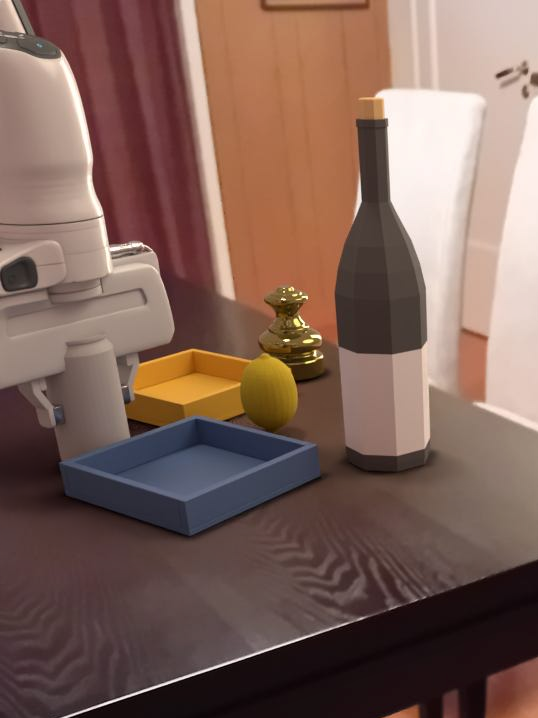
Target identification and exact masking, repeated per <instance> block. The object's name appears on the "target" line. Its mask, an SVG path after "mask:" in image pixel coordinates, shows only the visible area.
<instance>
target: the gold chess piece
mask: <svg viewBox="0 0 538 718" xmlns="http://www.w3.org/2000/svg"><path fill="white" fill-rule="evenodd" d="M308 300H309V297H308V294H307V293H305V292H304V291H302V290H300V289H297V288H294V286H292V285H288V284H287V285H286V284H284V285H278V286H277V287H276V288H275V289H273V290H271V291H269V292H268V293H266V294H265V295H264V296H263V301H264V303H265V304H266V305H268V306H269V307H270V308H272V310H273V312H274V313H275V317H274V320H272V323H270V324H269V325H268V327H267V328H268V329H266V330H264V331H263V332H261V334H259V336H258V337H257V345H258V348H259V349H260V351H262V352H263V353H262V354H268V355H269V356H270V357H273V358H276V359H278V360H280V361H281V362H283V363H284V364H285V365H286V366H287V367H288V368H291V373H292V375H293V378H294V381H295V382H302V381H308V380H309V381H310V380H312V379H316V378H317V377H320V376H321V375H322V374H323V373H324V371H325V367H324V366H325V365H324V353H323V352H322V351H320V350H319V349H321V347H322V344H323V337H322V335H321V333H320V332H319V331H317V330H316V329H314V328H312V327H310V324H309V323H307V322H306V321H304V319H303V318H302V317H301V315H300V311H301V309H302V307H303V306H304V305H305V304H306V303H307V302H308Z"/></svg>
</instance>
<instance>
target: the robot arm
mask: <svg viewBox="0 0 538 718" xmlns="http://www.w3.org/2000/svg"><path fill="white" fill-rule="evenodd" d="M89 132H90V131H89V127H88V123H87V118H86V113H85V109H84V106H83V101H82V98H81V93H80V90H79V87H78V83H77V80H76V78H75V75H74V72H73V70H72V68H71V65H70V62H69V61H68V60H67V58H66V56H65V54H64V52H63V51H62V49H60V47H59V46H57V45H56V44H54V43H52V42H51V41H50V40H48V39H45V38H43V37H41V36H37V35H36V34H35V31H34V28H33V27H32V24H31V22H30V20H29V18H28V15H27V14H26V10H25V8H24V7H23V4H22V2H21V0H0V391H1V390H5V389H8V388H12V387H15V386H17V389H18V391H19V393H20V394H22V396H24V397H25V399H26V400H27V401H28V402H29V403H30V404H31V406H32V407H34V408H35V412H36V417H37V420H38V423H39V425H40V426H41V427H42V428H46V429H54V427H56V426H59V425H62V424H64V423H65V418H64V417H63V409H62V405H58V404H54V403H50V402H49V400H48V398H47V396H45V394H44V393H43V392H45V391H46V389H47V386H46V382H45V377H49V376H52V375H56V374H59V373H63V372H64V371H65V360H64V356H65V354H66V351H67V349H68V346H67V345H66V342H70V341H73V340H77V339H81V338H85V337H89V336H93V335H97V334H103V333H105V332H106V333H107V336H106V338H107V339H108V340H109V341H110V342H111V343H112V344H113V346H114V351H115V357H116V362H117V368H118V373H119V379H120V384H121V390H122V395H123V400H124V405H125V404H129V403H132V402H134V401H135V396H134V390H133V385H132V384H133V383H134V380H135V377H136V373H137V370H138V367H139V364H141V363H140V358H139V352H143V351H147V350H150V349H153V348H158V347H160V346H164V345H167V344H170V343H171V341H172V340H173V337H174V333H175V322H174V318H173V313H172V310H171V309H172V308H171V305H170V302H169V298H168V293H167V291H166V287H165V285H164V282H163V279H162V277H161V271H160V265H159V258H158V256H157V254H156V252H155V251H154V250H153V249H152V248H150V246H148V245H146V244H144V243H143V242H142V241H140V240H130V241H127V242H125V243H113V244H110V243H109V238H108V232H107V226H106V220H105V215H104V210H103V207H102V205H101V202H100V200H99V198H98V195H97V193H96V190H95V186H94V182H93V167H94V154H93V153H94V152H93V148H92V144H91V137H90V133H89Z"/></svg>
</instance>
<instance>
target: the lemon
mask: <svg viewBox="0 0 538 718" xmlns="http://www.w3.org/2000/svg"><path fill="white" fill-rule="evenodd" d="M240 397H241V402H242V406H243V409H244V411H245V413H244V414H245V415H246V416H247V418H248V419H249V420H250V422H252V424H254V425H255V426H257V427H258V428H262V429H265V431H266V432H269V433H273V434H277V433H278V431H279V430H280V429H281V428H282V427H284V426H286V425H288V424H289V423H290V422H291V420H292V419H293V418H294V416H295V414H296V411H297V410H298V401H299V399H298V397H299V396H298V388H297V384H296V381H294V378H293V375H292V373H291V371H290V369H289V368H288V367H287V366H286V365H285V364H284V363H283V362H281V361H280V360H278V359H276V358H273V357H270V356H269V355H268V354H263V353H261V354H260V355H259V356H258V357H257V358H255V359H253V360H252V362H250V363H249V364H248V365H247V366H246V368H245V369H244V371H243V374H242V378H241V384H240Z"/></svg>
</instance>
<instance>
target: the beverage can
mask: <svg viewBox="0 0 538 718" xmlns="http://www.w3.org/2000/svg"><path fill="white" fill-rule="evenodd" d="M106 336H107V333H106V332H105V333H103V334H97V335H93V336H89V337H85V338H81V339H77V340H73V341H70V342H66V345H67V346H68V349H67V351H66V354H65V356H64V360H65V371H64V372H63V373H59V374H56V375H52V376H49V377H45V382H46V386H47V389H46V390H45V395H46V398H47V399H48V400H49V402H50V403H54V404H58V405H62V409H63V417H64V418H65V423H64V424H62V425H59V426H56V427H54V428H53V430H54V435H55V438H56V444H57V447H58V453H59V457H60V460H61V462H63V461H65V460H68V459H71V458H74V457H77V456H80V455H83V454H85V453H88V452H91V451H94V450H97V449H100V448H103V447H105V446H108V445H111V444H114V443H117V442H120V441H123V440H125V439H128V438H131V433H130V429H129V424H128V422H129V421H128V418H127V417H126V411H125V406H124V400H123V395H122V390H121V384H120V379H119V373H118V368H117V366H118V364H117V362H116V357H115V351H114V346H113V344H112V343H111V342H110V341H109V340H108V339H107V338H106Z"/></svg>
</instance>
